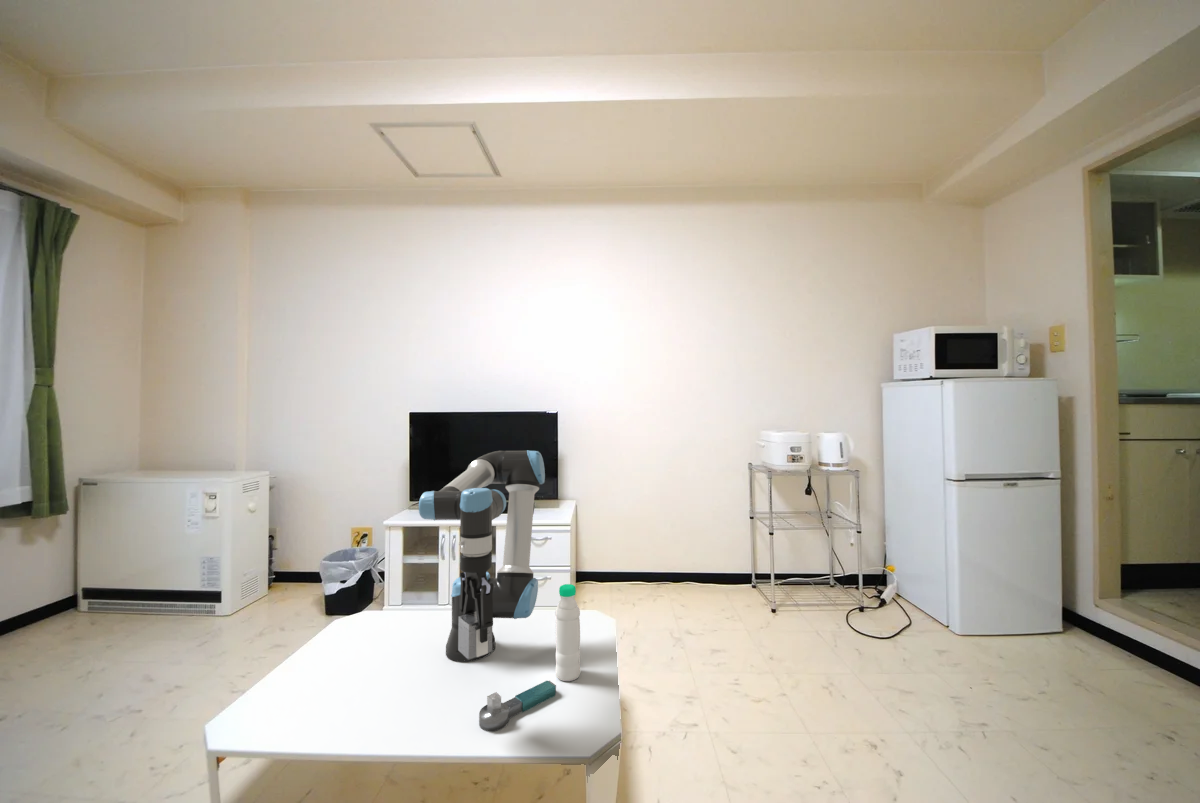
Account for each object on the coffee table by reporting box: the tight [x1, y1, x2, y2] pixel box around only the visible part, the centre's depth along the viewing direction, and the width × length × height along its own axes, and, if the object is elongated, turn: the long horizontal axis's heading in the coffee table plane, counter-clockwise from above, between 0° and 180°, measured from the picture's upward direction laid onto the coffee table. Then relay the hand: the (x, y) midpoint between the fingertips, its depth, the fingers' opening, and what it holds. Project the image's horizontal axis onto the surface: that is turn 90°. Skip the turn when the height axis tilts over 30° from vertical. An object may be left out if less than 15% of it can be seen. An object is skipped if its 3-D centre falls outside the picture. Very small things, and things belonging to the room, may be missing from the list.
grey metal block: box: [458, 612, 493, 660], centre depth 110 cm, size 6×6×8 cm
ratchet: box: [478, 680, 557, 733], centre depth 114 cm, size 21×7×6 cm, turn 133°
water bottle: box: [554, 583, 581, 682], centre depth 130 cm, size 7×7×25 cm
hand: (475, 649), depth 110 cm, fingers closed on grey metal block, 6 cm apart
